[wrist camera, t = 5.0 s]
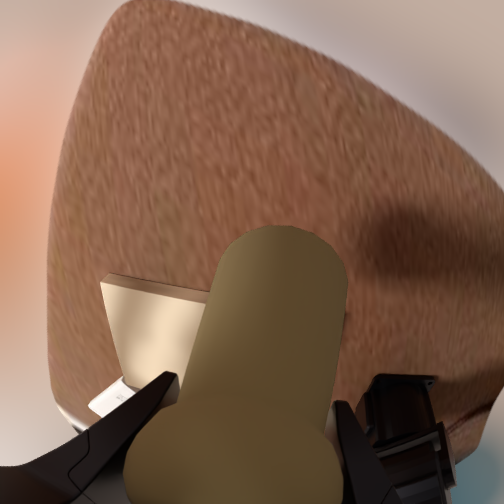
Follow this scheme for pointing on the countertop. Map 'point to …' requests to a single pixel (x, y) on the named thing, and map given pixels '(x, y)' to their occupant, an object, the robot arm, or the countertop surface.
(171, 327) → the birch board
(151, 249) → the countertop surface
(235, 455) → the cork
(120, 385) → the external hard drive
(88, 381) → the countertop surface
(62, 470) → the robot arm
